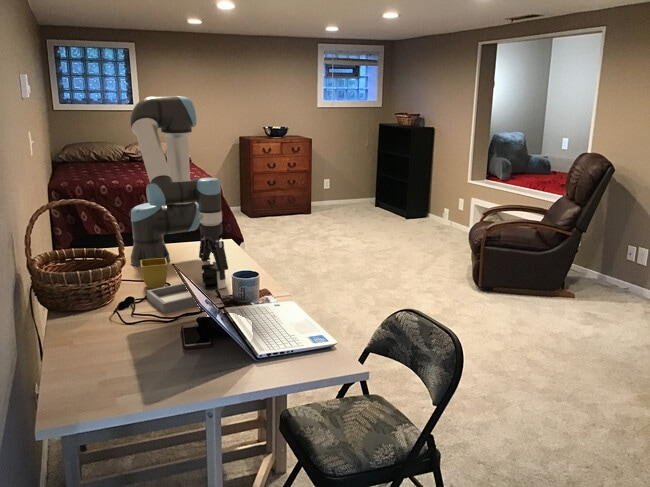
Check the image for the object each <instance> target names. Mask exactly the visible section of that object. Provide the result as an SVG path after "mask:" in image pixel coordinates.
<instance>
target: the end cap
mask: <svg viewBox="0 0 650 487" xmlns="http://www.w3.org/2000/svg"><path fill="white" fill-rule="evenodd" d="M217 269H218V268H217V265H216V262H215V261H212V264H211V263H210V264H209V265H202V264H201V271H203V270H204V273H203V272H202V273H201V276H202V284H203V286H204V289H205V290H211V289H218V285H217V271H216V270H217ZM225 280H227V279H226V275H225Z"/></svg>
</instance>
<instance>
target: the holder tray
mask: <svg viewBox="0 0 650 487" xmlns="http://www.w3.org/2000/svg"><path fill="white" fill-rule="evenodd" d="M183 283H184V282H183ZM183 283H178V284H172V285H168V286H163V287H159V288H151V289H147V290H146V298H147V301H149V303H151V304H152V305H153V306H155V307H156V308H157V309H158V310H160V311H161V313H163V314H167V313H170V312H175V311H180V310H184V309H188V308H193V307H197V306H198V305H197V303H196V302H195V300H194V299H193V298H192V296H191V295H190V294H189V292H188V290H187V289H186V287H185V285H184V284H183ZM194 283H195V284H196V285H197V286H198V287H199V288H200V289H201V290H202V291H203V292H204V293H205V294H206V295H207V296H208V297H209V298H210V299H211V300H212V293H211V292H210V291H208V289H205V287H204V288H203V287H202V286H200V285H199V284H197V283H196V282H194Z"/></svg>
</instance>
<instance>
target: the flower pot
mask: <svg viewBox="0 0 650 487" xmlns="http://www.w3.org/2000/svg"><path fill="white" fill-rule="evenodd" d="M140 261H141V266H140V268H141V274H142V275H141V276H142V279H143V282H144V284H145V286H146V287H147V289H157V288H162V287H165V284H166V282H167V277H168V262H167V260H166V258H156V259H144V260H140Z"/></svg>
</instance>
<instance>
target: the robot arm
mask: <svg viewBox="0 0 650 487" xmlns="http://www.w3.org/2000/svg"><path fill="white" fill-rule="evenodd" d="M129 121H130V122H129V125H130V128H131V131H132V133H133V135H134V136H136V139H137V143H138V146H139V149H140V153H141V157H142V160H143V162H144V167H145V170H146V174H147V177H148V180H149V183H148V184H147V185H146V189H145V190H146V191H145V193H146V200H147V202H144V203H141V204H138V205H136V206H134V207H132V208H131V209H130V210H131V211H130V221H131V228H132V239H133V245H132V250H131V254H130V263H131V265H133V266H137V267H141V261H140V260H144V259H156V258H166V260H167V263H168V262H169V261H171V260H170V259H171V258H170V252H169V250H168V248H167V246H166V243H165V241H164V235H168V234H169V235H170V234H178V233H188V232H191V231H192V232H193V231H196V230H197V229H198V228H199V231H200V232H199V233H200V241H199V242H200V243H199V251H198V258H199V259H200V260H201V266H202V265H209V264H211V261H210V260H211V257H210V256H211V254H213V258H214V262H216V265H217V268H218V269H217V270H216V271H217V285H218V288H217V289H224V288H226V286H227V285H226V279H225V276H226V271H227V270H229V264H228V260H227V256H226V251H225V242H224V241H223V240H221V241H220V238H219V236H220V235H222V234H223V224H222V222H223V213H222V197H221V196H222V195H221V193H222V192H221V191H222V188H221V182H220V180H219V179H218V178H216V177H201V178H193V179H191V170H190V169H191V168H190V151H189V150H190V146H189V136H190V135H191V134H192V133H193V128H195V127H196V126H197V114H196V110H195V106H194V104H193V101H192V100H191V98H189V97H187V96H179V95H174V96H173V95H172V96H171V95H170V96H147V97H145V98H142V99H140V101H138V102H137V103H136V104H135V106H134V107H133V109H132V111H131V114H130V119H129ZM159 129H160V132H161V134H162V135H163V136H164V137H165V148H166V155H165V154H164V150H163V149H164V148H163V146H162V143H161V139H160V136H159V133H158V130H159ZM202 273H204V270H202Z"/></svg>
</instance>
